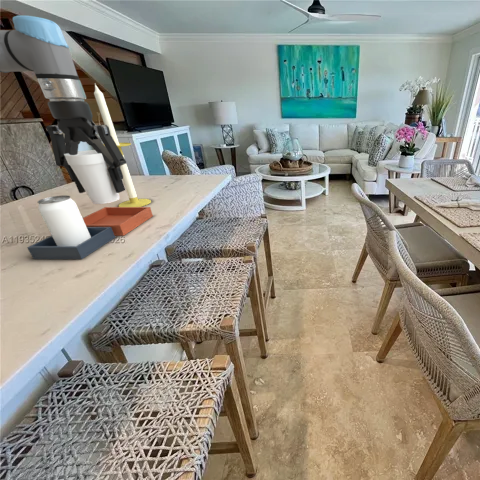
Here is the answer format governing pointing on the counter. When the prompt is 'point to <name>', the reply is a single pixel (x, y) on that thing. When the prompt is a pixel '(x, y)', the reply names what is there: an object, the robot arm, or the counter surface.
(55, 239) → the can
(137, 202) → the candle
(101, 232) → the can bin
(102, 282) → the counter surface
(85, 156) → the foam cup
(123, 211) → the bin
